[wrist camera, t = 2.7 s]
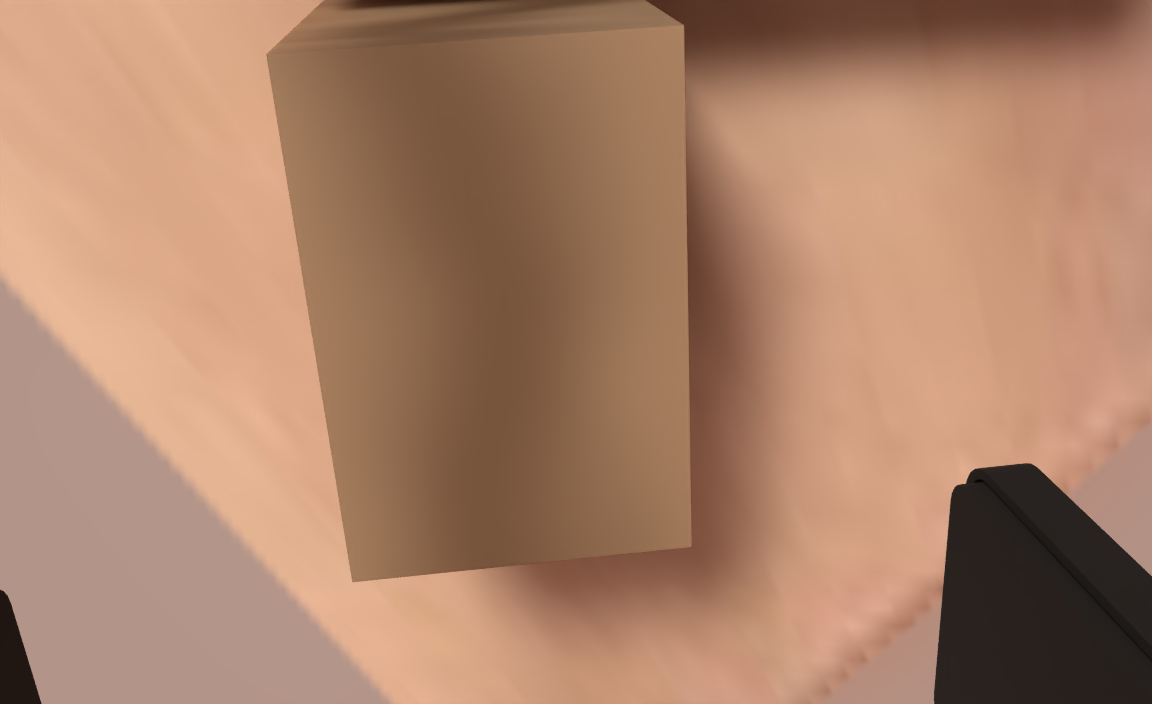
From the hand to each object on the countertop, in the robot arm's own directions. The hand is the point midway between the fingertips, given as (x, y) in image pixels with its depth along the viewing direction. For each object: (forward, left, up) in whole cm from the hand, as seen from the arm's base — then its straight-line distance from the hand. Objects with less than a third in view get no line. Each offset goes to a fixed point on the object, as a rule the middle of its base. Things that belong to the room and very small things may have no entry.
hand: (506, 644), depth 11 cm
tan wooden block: (0, 0, -15) cm, 15 cm away
